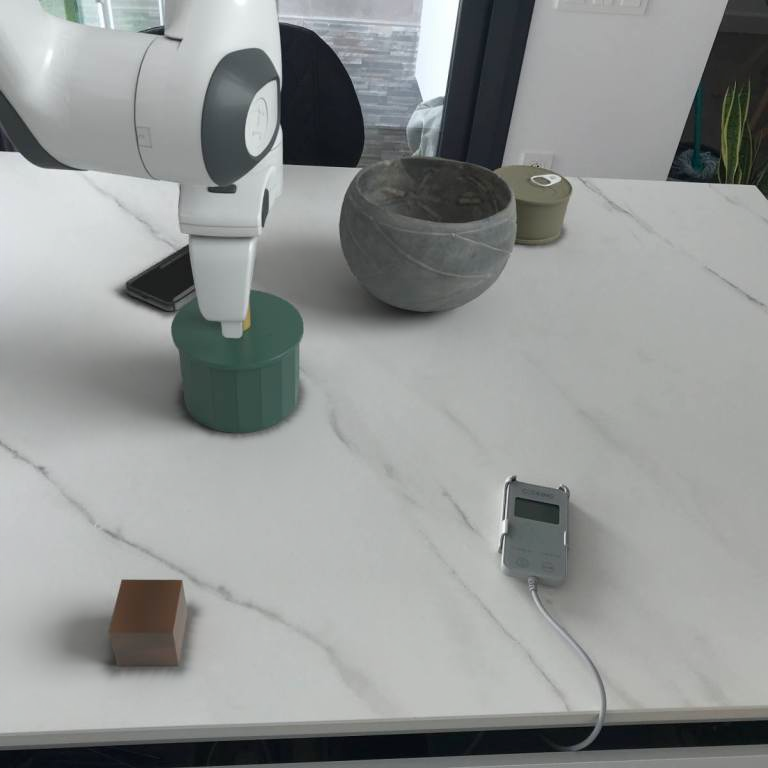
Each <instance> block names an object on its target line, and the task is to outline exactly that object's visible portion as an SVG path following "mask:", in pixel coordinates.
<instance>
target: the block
mask: <svg viewBox="0 0 768 768" xmlns="http://www.w3.org/2000/svg"><path fill="white" fill-rule="evenodd" d="M184 588H185V587H184V581H183V579H125V578H124V579H121V581H120V584H119V589H118V593H117V597H116V600H115V603H114V608H113V612H112V617H111V621H110V624H109V629H108V636H109V640H110V643H111V648H112V650H113V651H112V652H113V654H114V659H115V662H116V665H117V667H178V666H180V661H181V656H182V649H183V642H184V638H185V637H184V636H185V630H186V627H187V626H186V625H187V621H188V608H187V600H186V594H185V589H184Z"/></svg>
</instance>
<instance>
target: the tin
mask: <svg viewBox="0 0 768 768" xmlns="http://www.w3.org/2000/svg"><path fill="white" fill-rule="evenodd" d="M300 344H301V342H300V343H299V345H298V346H297V348H296V349H295V350H294V351H293V352H292V353H290V354H289V355H288V356H286V357H285V358H283V359H281V360H279V361H277V362H275V363H273V364H270V365H267V366H264V367H260V368H255V369H248V370H222V369H216V368H211V367H207V366H204V365H201V364H198V363H196V362H194V361H192V360H190V359H189V358H187V357H186V356H184V355H183V354H182V353H181V352H180V351H179V350H178V356H179V365H180V374H181V375H180V376H181V382H182V391H183V398H184V405H185V408H186V410H187V411H188V413H189V414H190V415H191V417H192V418H193V419H194V420H195V421H197V422H198V423H200V424H201V425H203V426H204V427H207V428H209V429H211V430H214V431H219V432H223V433H229V434H230V433H231V434H247V433H254V432H260V431H263V430H266V429H269V428H272V427H273V426H275V425H277V424H279V423H280V422H282V421H283V420H285V419H286V418H287V417H288V416H290V414H291V413H292V412H293V410H294V409H295V407H296V405H297V403H298V398H299V393H300V348H301V347H300V346H301V345H300Z"/></svg>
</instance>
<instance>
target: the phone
mask: <svg viewBox="0 0 768 768" xmlns="http://www.w3.org/2000/svg"><path fill="white" fill-rule="evenodd" d="M125 288H126V293H127V295H129V296H131V297H132V298H135V299H138V300H140V301H142V302H144V303H147V304H148V305H151V306H153V307H156V308H157V309H160V310H163V311H165V312H175V311H179V310H180V309H181V308H182V307H183V306H185V305H186V304H187V303H189V302H191V301H192V300H194V299H196V298H197V294H196V289H195V284H194V278H193V272H192V266H191V260H190V253H189V243H188V244H186V245H185V246H183V247H181V248H179V249H178V250H176V251H174V252H173V253H171V254H170V255H168V256H166V257H165V258H163V259H161V260H159V261H157V262H156V263H155V264H153V265H152V266H150V267H147V268H146V269H145V270H143V271H142V272H140V273H138V274H136V275H135V276H133V277H132V278H130V279H128V280H127V281H126V282H125Z"/></svg>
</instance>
